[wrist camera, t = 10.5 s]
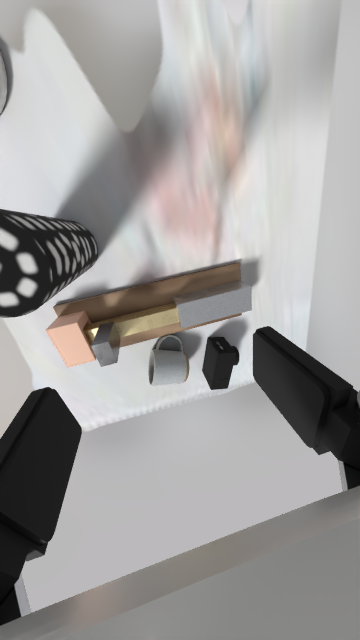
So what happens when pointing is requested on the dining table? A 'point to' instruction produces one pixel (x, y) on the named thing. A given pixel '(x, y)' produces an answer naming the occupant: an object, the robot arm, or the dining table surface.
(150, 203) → the dining table surface
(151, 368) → the ceramic mug
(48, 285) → the spotted tube
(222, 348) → the digital camera
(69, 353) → the terracotta socket
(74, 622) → the robot arm
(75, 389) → the dining table surface
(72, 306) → the walnut board
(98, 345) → the hammer
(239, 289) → the metal sleeve
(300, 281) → the dining table surface
